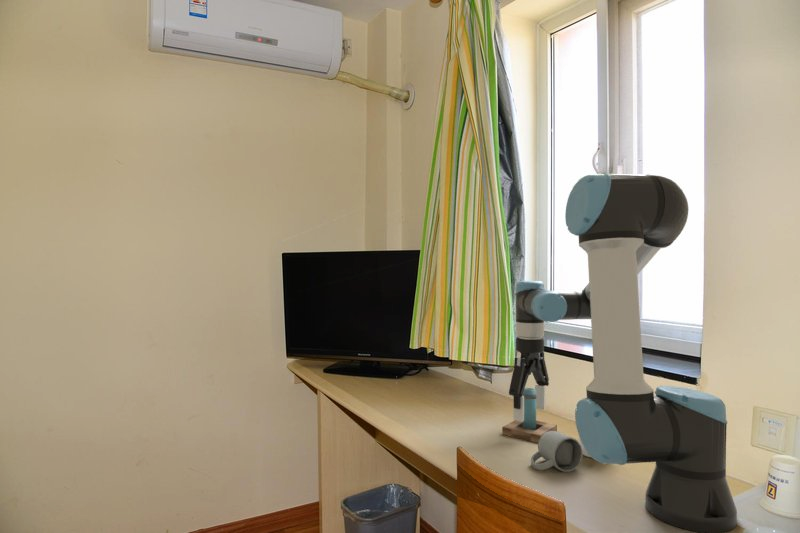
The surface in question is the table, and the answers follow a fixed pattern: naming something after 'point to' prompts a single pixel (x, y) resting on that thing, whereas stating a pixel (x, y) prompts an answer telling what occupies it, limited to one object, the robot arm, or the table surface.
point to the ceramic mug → (558, 452)
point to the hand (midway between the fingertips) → (529, 414)
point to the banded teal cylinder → (529, 408)
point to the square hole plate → (527, 430)
